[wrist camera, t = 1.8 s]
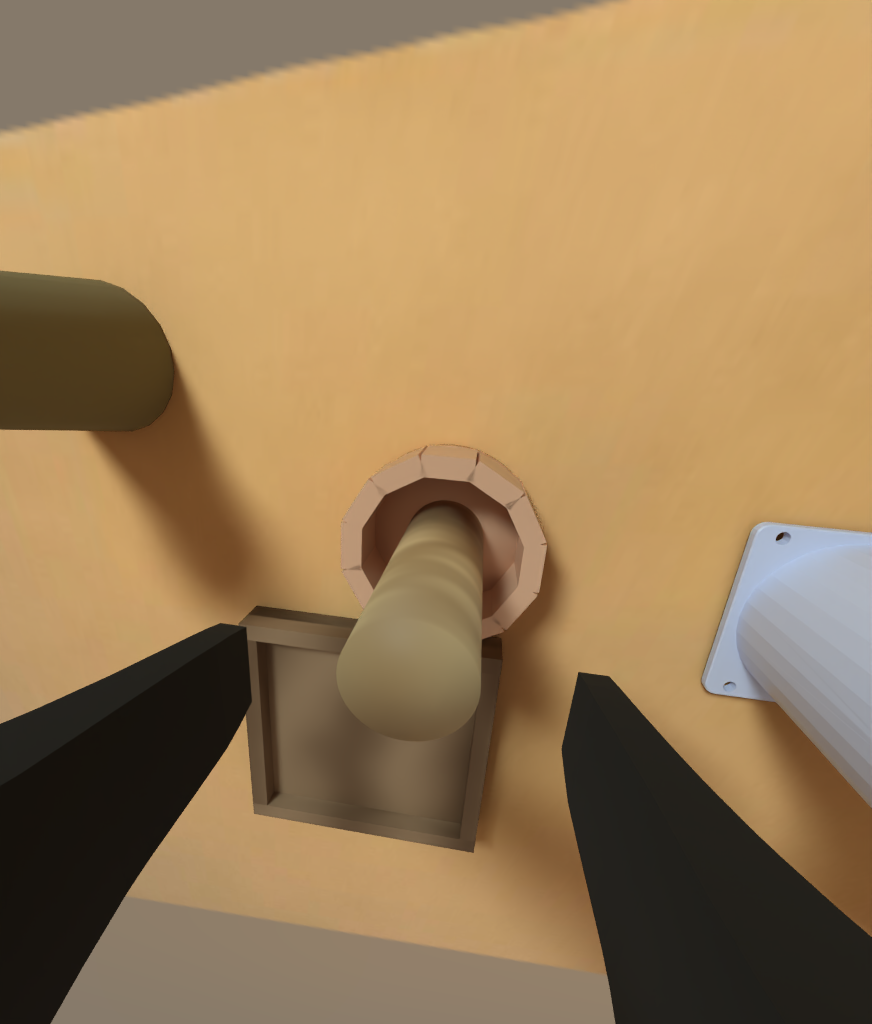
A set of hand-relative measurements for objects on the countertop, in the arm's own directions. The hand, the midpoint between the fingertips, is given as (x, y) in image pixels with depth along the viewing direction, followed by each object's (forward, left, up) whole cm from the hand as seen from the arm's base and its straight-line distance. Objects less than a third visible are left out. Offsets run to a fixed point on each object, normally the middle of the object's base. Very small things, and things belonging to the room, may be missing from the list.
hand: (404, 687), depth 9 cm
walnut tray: (+3, +11, -10) cm, 15 cm away
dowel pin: (0, 0, -9) cm, 9 cm away
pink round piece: (0, 0, -10) cm, 10 cm away
